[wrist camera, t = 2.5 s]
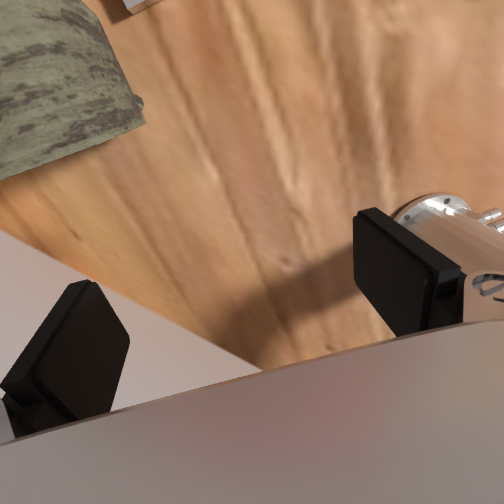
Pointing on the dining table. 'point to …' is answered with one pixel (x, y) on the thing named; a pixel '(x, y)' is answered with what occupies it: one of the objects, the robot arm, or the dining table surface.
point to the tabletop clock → (58, 84)
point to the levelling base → (138, 5)
